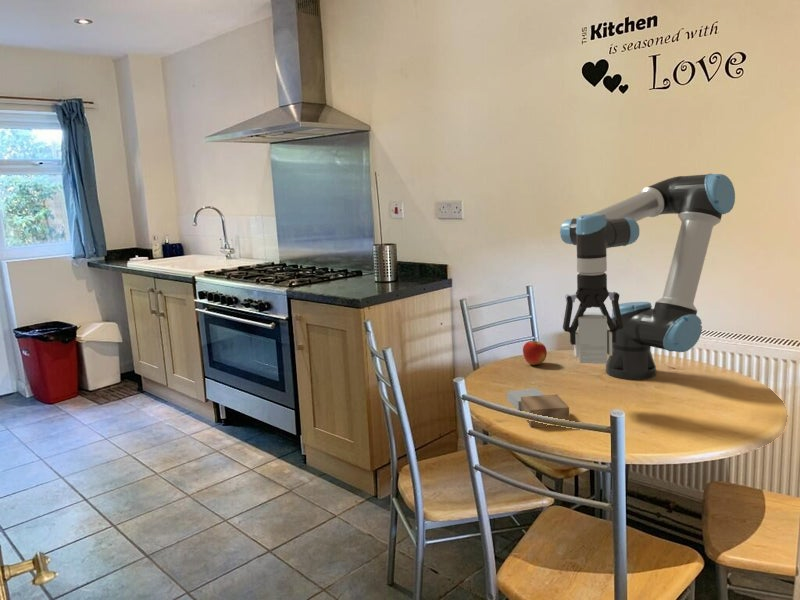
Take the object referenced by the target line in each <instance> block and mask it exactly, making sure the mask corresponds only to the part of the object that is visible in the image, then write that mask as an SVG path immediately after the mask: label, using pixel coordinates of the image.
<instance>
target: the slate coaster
mask: <svg viewBox="0 0 800 600" xmlns="http://www.w3.org/2000/svg"><path fill="white" fill-rule="evenodd" d="M541 395H545V394H544V393H543V392H542V391H541V390H539V389H538V388H536V387H533V388H524V389H516V390H507V391H506V401H507V402H509V403H510V404H511V405H512V406H513V407H514V408H515V409H517V410H518V411H521V397H527V396H541Z"/></svg>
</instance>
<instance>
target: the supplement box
mask: <svg viewBox="0 0 800 600" xmlns="http://www.w3.org/2000/svg"><path fill="white" fill-rule="evenodd" d="M577 329H578V334H579V357H578V359H579V364H605V365H606V364H607V360H608V354H607V330H608V324H607V317H606V316H604V315H603V314H602V312H584V314H583V317H578V328H577Z"/></svg>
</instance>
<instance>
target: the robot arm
mask: <svg viewBox="0 0 800 600" xmlns="http://www.w3.org/2000/svg"><path fill="white" fill-rule="evenodd" d="M735 202H736V191H735V188H734V184H733V182H732V179H730V178H729V176H727V175H726V174H723V173H707V174H695V175H679V176H673V177H670V178H667V179H664V180H660V181H659V182H656V183H654V184H652V185H649V186H646V187H644V188H642V189H641V190H640V191H639V192H638V194H636V195H634V196H631V197H629V198H626V199H624V200H621V201H619V202H617V203H615V204H611V205H610V206H607V207H604V208H602V209H600V210H597V211H595V212H593V213H591V214H581V215H579V216H578V217H577V218H575V217H573V218H570V219H568V218H567V219H566V220H564V222H562V224H561V225H560V228H559V229H560V230H559V234H560V238H561V240H562V242H564V243H565V244H567V245H568V244H569V245H573V246H576V272H577V273H578V274H577V275H576V284H577V285H576V286H577V287H576V292H575V293H574V294H566V295H565V301H566V305H565V311H564V317H563V318H564V319H563V324H562V329H563V331H564V332H566V333H569V342H570V345H572V346H573V355H574V356H575V358H579V332H578V331H577V330H578V329H579V328H578V317H583V314H584V313H586V311H587V309H590V308H599V310H600V313H602V314H603V315H604V316H606V317H607V327H608V329H607V356H608V357H607V364H605V372H606V374H607V375H608V376H611V377H613V378H618V379H625V380H646V379H651V378H653V377H656V375H657V368H656V364H655V361H654V358H653V357H654V356H653V355H652V351H651V348H656V349H660V350H665V351H667V352H677V353H686V352H688V351H690V350H691V349H692V348H693V347H695V345H697V343H698V342H699V339H700V338H701V335H702V331H703V326H702V319H701V318H700V317H699V316H698V315H697V314H698V309H697V308H696V306H695V305H694V302H695V299H696V298H695V297H696V294H697V291H698V286H699V283H700V279H701V275H702V271H703V266H704V263H705V260H706V256H707V252H708V247H709V244H710V239H711V237H712V233H713V229H714V227H715V226H716V225H718V224H720V223H721V221H722V217H723V215H726V214H728V213H730V212H731V211H732V210H733V208H734V206H735V204H736V203H735ZM671 214H675V215H677V217H678V218H679V220H680V221H681V223H680V227H679V231H678V235H677V239H676V244H675V248H674V250H673V255H672V259H671V263H670V267H669V271H668V275H667V279H666V282H665V285H664V290H663V294H662V297H661V298H660V299H658V300H656V301H655V304H654V307H652V303H651V302H650V301H632V302H631V301H630V302H622V303H619V302H620V301H619V300H620V293H618V292H616V291H613V292H611V291H608V280H607V279H608V274H607V273H606V272H607V269H608V268H607V265H608V264H607V263H608V262H607V256H608V254H607V249H609V248H610V249H611V248H617V247H626V246H629V245H632V244H634V243H635V242H637V241H638V239H639V237H640V231H641V230H640V226H639V223H638V222H639V221H640V220H643V219H645V218H655V217H658V216H660V215H671ZM608 297H609V300H610V301H611V306H612V310H611V315H610V313H609V311H608V310H607V307H606V304H605V301H606V300H607V299H608ZM576 299H577V300H578V302H579V305H578V308H577V311H576V313H575V316H574V318H573V320H572V312H573V309H574V308H573V306H574V303H575V301H576ZM571 320H572V322H571Z"/></svg>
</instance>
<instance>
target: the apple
mask: <svg viewBox="0 0 800 600" xmlns="http://www.w3.org/2000/svg"><path fill="white" fill-rule="evenodd" d="M537 339H538V338H536V340H529V341H527V342H525V343H524V345H523V346H522V354H523V358H524V359H525V361H526V362H527V363H528V364H529V365H531V366H536V365H540V364H542V363H544V362H545V360H546V359H547V353H548V352H547V348H546V346H545V344H544V343H542V342H540V341H538V340H537Z"/></svg>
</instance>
